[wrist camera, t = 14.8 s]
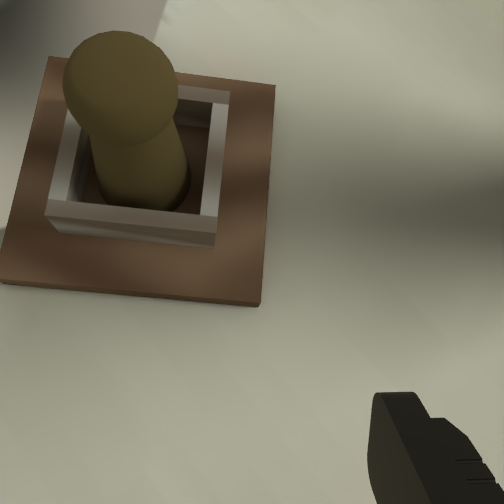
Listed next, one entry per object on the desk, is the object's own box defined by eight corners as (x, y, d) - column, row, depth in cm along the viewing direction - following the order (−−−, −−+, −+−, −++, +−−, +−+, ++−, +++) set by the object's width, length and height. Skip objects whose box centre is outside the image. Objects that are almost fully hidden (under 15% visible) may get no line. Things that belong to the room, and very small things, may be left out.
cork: (119, 235, 29) (74, 146, 19) (83, 156, 31) (21, 32, 20) (207, 198, 31) (209, 95, 20) (168, 124, 32) (151, -9, 21)
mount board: (55, 70, 34) (34, 23, 30) (272, 97, 35) (282, 56, 31) (4, 283, 29) (-30, 264, 25) (257, 306, 30) (267, 292, 26)
